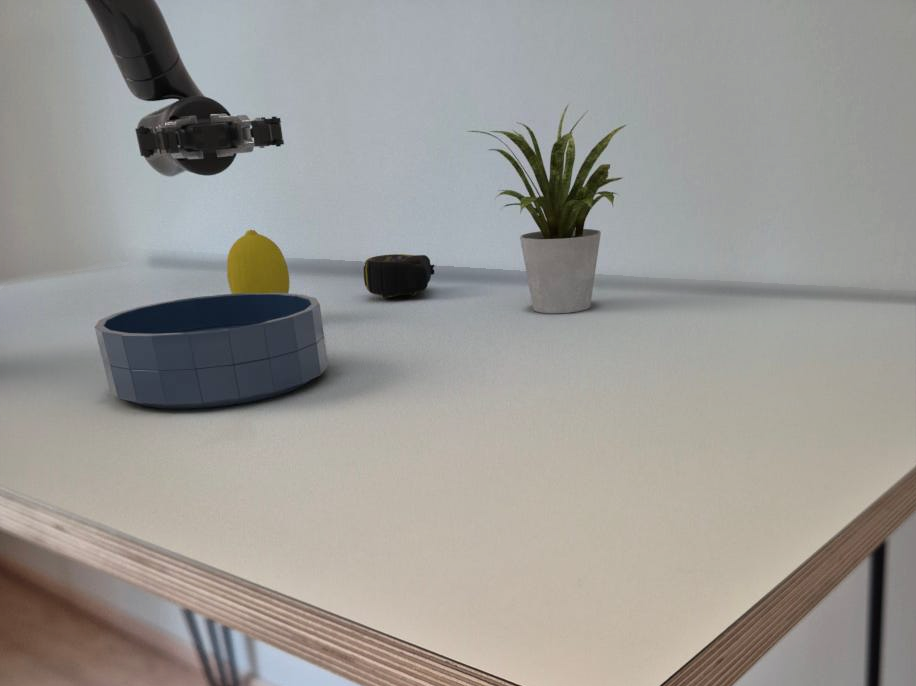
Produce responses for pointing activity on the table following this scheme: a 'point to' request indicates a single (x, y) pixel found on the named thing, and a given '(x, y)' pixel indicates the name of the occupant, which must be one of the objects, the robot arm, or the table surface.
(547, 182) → the house plant
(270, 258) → the lemon
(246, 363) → the bowl
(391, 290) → the tape measure
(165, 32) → the robot arm
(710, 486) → the table surface
